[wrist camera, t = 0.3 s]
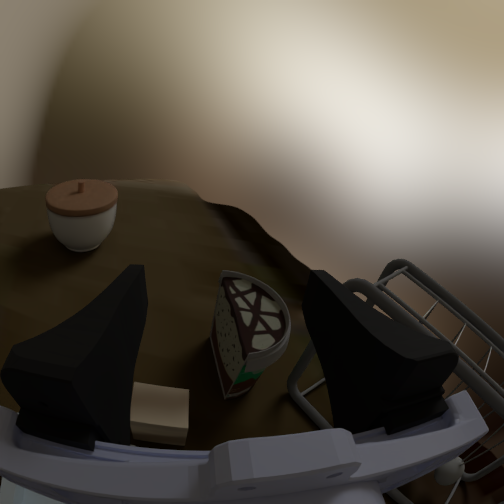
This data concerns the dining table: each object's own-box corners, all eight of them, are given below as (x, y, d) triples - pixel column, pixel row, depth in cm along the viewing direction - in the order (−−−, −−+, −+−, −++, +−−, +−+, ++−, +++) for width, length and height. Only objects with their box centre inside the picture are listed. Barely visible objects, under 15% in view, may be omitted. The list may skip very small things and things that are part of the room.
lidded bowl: (39, 256, 39) (31, 194, 33) (64, 220, 49) (63, 166, 43) (107, 266, 42) (107, 201, 36) (122, 226, 52) (126, 171, 47)
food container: (280, 404, 30) (315, 352, 25) (227, 411, 28) (250, 359, 23) (251, 327, 40) (272, 269, 35) (207, 328, 38) (221, 267, 33)
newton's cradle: (468, 481, 21) (569, 405, 12) (437, 538, 14) (567, 472, 5) (333, 354, 39) (396, 249, 30) (279, 387, 32) (346, 268, 23)
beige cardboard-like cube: (184, 445, 23) (188, 428, 21) (133, 439, 22) (128, 420, 20) (185, 412, 27) (189, 389, 24) (137, 405, 26) (134, 381, 23)
